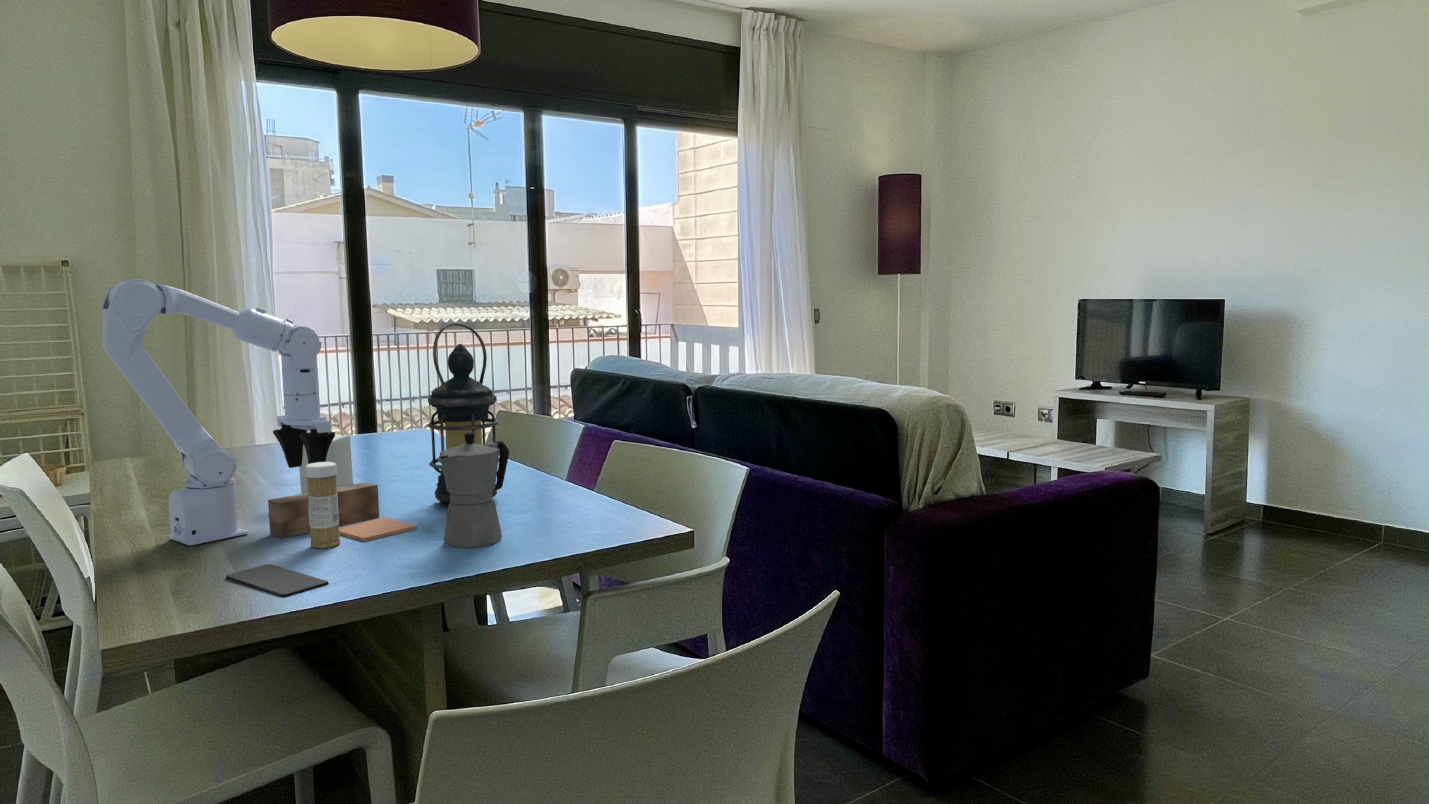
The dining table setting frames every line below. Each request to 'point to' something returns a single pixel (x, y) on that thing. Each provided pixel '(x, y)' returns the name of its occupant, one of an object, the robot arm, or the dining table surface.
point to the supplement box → (340, 456)
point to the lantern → (459, 406)
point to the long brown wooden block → (294, 510)
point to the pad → (375, 529)
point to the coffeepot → (473, 492)
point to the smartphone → (276, 580)
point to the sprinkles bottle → (323, 504)
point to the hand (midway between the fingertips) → (305, 469)
